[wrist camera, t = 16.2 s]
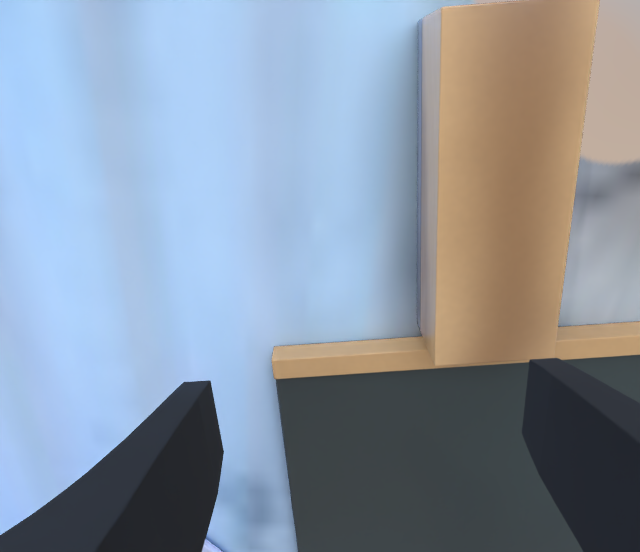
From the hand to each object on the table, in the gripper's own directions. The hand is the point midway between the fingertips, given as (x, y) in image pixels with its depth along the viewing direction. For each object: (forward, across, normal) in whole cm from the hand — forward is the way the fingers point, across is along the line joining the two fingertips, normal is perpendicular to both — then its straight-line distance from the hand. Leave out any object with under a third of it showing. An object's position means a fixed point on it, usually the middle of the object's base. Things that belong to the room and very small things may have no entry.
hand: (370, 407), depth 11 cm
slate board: (+10, -7, +16) cm, 20 cm away
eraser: (+10, -5, -3) cm, 12 cm away
